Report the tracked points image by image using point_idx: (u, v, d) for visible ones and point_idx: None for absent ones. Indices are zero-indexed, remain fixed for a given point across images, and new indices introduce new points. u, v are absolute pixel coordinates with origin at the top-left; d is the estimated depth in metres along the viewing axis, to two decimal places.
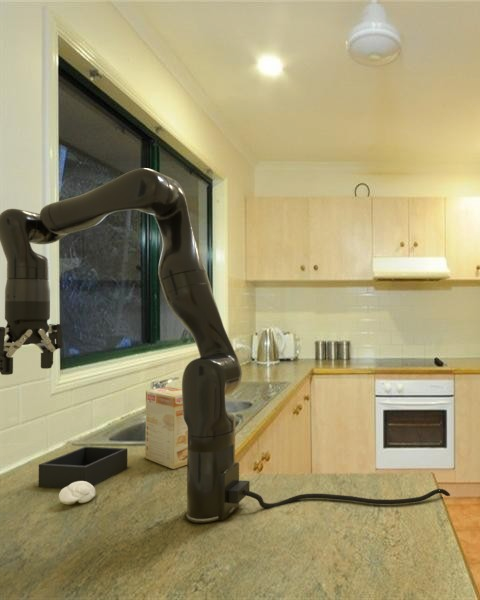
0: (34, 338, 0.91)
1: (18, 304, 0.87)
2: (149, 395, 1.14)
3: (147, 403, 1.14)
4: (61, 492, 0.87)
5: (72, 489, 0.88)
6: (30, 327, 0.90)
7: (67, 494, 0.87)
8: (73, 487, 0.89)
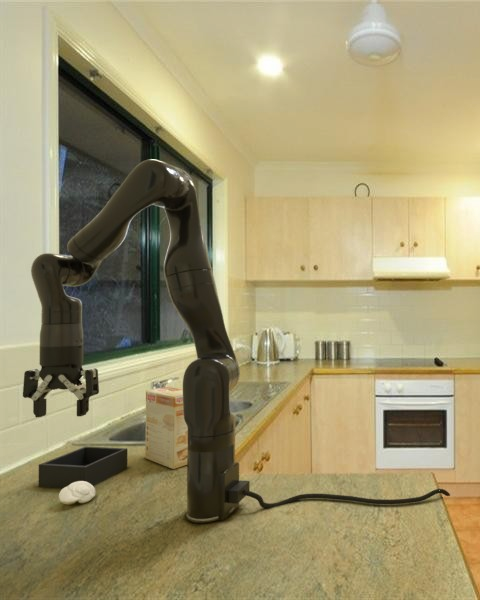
0: (60, 383, 0.89)
1: None
2: (149, 395, 1.14)
3: (147, 403, 1.14)
4: (61, 492, 0.87)
5: (72, 489, 0.88)
6: (56, 372, 0.89)
7: (67, 494, 0.87)
8: (73, 487, 0.89)
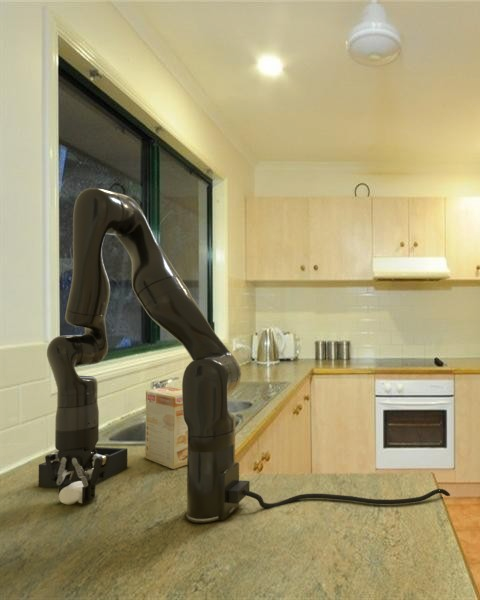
0: (74, 466, 0.88)
1: None
2: (149, 395, 1.14)
3: (147, 403, 1.14)
4: (61, 492, 0.87)
5: (72, 489, 0.88)
6: (71, 454, 0.88)
7: (67, 494, 0.87)
8: (73, 487, 0.89)
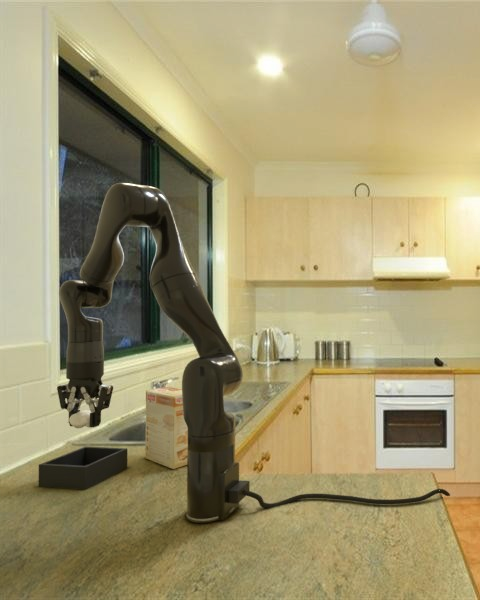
0: (83, 394, 1.01)
1: None
2: (149, 395, 1.14)
3: (147, 403, 1.14)
4: (71, 417, 1.00)
5: (81, 415, 1.01)
6: (80, 384, 1.01)
7: (76, 419, 1.00)
8: (81, 414, 1.02)
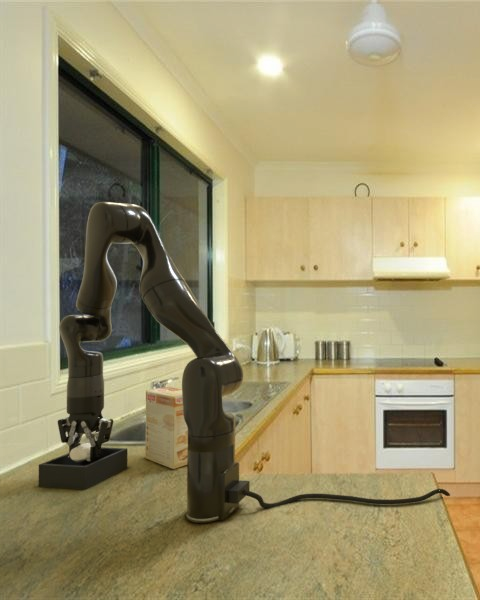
0: (83, 428, 1.01)
1: None
2: (149, 395, 1.14)
3: (147, 403, 1.14)
4: (71, 451, 1.00)
5: (81, 449, 1.02)
6: (80, 418, 1.01)
7: (77, 453, 1.00)
8: (82, 448, 1.02)
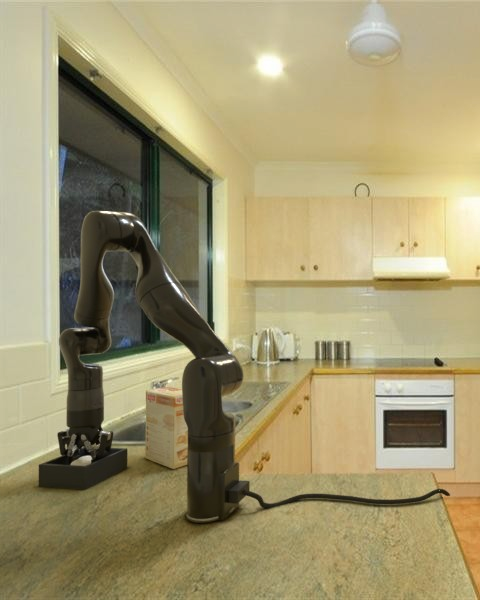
0: (83, 442, 1.01)
1: None
2: (149, 395, 1.14)
3: (147, 403, 1.14)
4: (71, 464, 1.00)
5: (81, 462, 1.01)
6: (80, 431, 1.01)
7: None
8: (82, 461, 1.02)
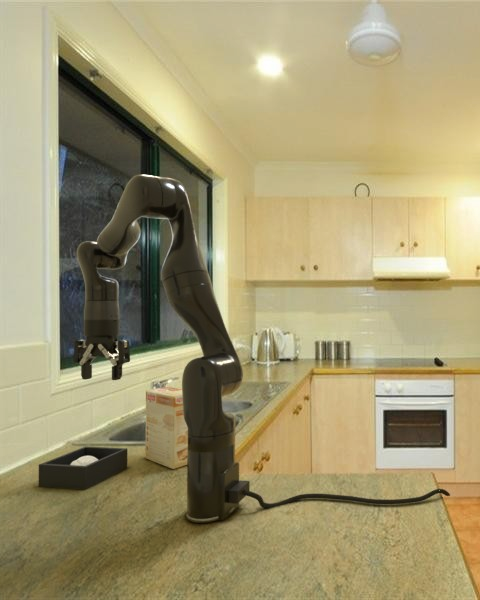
0: (100, 351, 1.05)
1: None
2: (149, 395, 1.14)
3: (147, 403, 1.14)
4: (71, 464, 1.00)
5: (81, 462, 1.01)
6: (96, 342, 1.05)
7: None
8: (82, 461, 1.02)
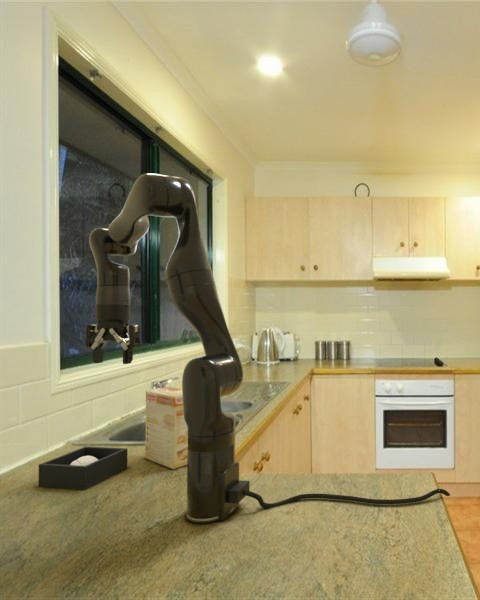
0: (111, 336, 1.07)
1: None
2: (149, 395, 1.14)
3: (147, 403, 1.14)
4: (71, 464, 1.00)
5: (81, 462, 1.01)
6: (108, 326, 1.07)
7: None
8: (82, 461, 1.02)
